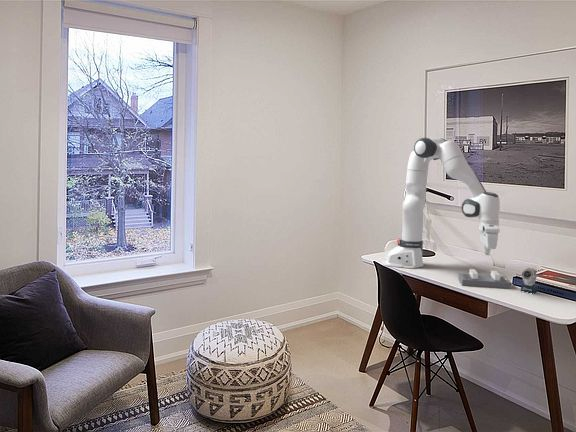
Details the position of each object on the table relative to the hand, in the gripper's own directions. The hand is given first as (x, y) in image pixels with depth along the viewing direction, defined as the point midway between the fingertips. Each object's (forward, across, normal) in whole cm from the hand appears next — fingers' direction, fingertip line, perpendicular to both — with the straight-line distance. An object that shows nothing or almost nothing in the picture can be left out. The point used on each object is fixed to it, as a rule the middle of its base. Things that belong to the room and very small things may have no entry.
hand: (486, 254), depth 236 cm
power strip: (+14, 0, -1) cm, 15 cm away
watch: (+15, +9, +17) cm, 25 cm away
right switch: (+11, 0, +4) cm, 12 cm away
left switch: (+11, 0, -6) cm, 13 cm away
